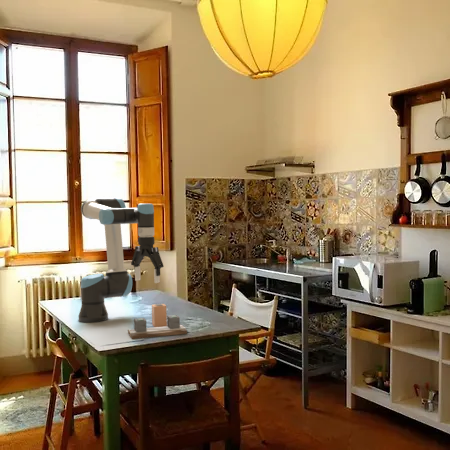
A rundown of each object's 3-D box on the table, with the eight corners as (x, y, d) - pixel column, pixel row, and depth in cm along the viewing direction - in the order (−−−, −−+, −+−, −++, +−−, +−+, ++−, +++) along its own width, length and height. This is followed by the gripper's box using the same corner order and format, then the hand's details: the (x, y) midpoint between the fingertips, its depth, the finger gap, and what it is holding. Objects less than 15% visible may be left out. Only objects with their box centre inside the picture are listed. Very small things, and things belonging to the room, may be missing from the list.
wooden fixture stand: (127, 333, 246) (127, 317, 246) (180, 328, 254) (179, 312, 254) (132, 339, 234) (131, 322, 234) (186, 333, 243) (186, 317, 242)
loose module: (152, 324, 263) (151, 304, 262) (164, 323, 265) (163, 303, 264) (154, 327, 257) (154, 306, 257) (166, 326, 259) (166, 305, 259)
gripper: (123, 236, 254) (124, 280, 254) (158, 237, 237) (159, 284, 238) (135, 235, 259) (136, 278, 260) (170, 236, 243) (171, 282, 244)
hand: (147, 281), depth 249 cm, fingers open, 13 cm apart
